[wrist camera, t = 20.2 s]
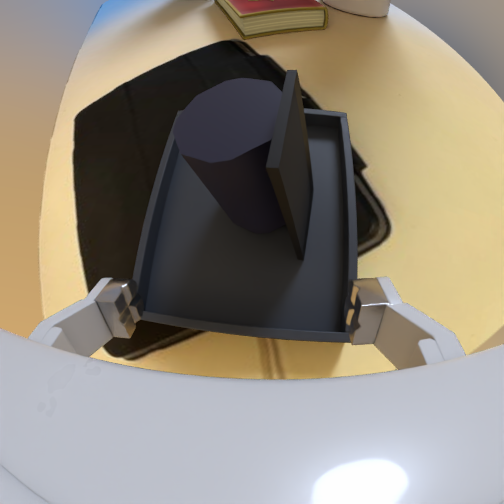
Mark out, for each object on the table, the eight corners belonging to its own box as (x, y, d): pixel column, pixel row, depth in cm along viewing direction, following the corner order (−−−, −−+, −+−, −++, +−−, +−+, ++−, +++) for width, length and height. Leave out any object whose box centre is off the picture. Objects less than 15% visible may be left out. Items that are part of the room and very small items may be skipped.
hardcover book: (275, -8, 33) (274, -25, 28) (327, 29, 26) (328, 5, 22) (214, 1, 33) (210, -15, 29) (243, 39, 27) (239, 14, 22)
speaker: (340, 193, 18) (353, 74, 8) (302, 263, 17) (288, 176, 8) (251, 155, 21) (209, 49, 11) (211, 214, 20) (133, 123, 10)
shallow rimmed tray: (345, 341, 16) (353, 342, 14) (141, 318, 18) (126, 316, 16) (342, 128, 21) (346, 112, 19) (184, 125, 23) (178, 110, 21)
